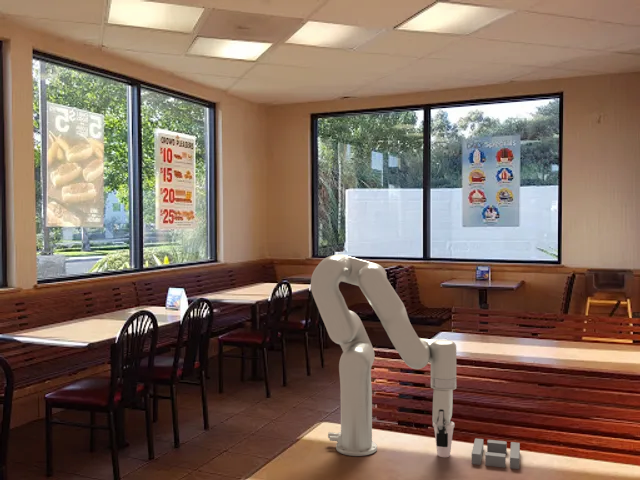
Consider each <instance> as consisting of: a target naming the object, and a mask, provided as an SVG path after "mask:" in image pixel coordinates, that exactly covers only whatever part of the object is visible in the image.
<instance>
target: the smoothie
mask: <svg viewBox="0 0 640 480" xmlns="http://www.w3.org/2000/svg"><path fill="white" fill-rule="evenodd" d="M443 422H445V423H446V421H443ZM443 426H444V427H445V425H443ZM432 427H433V430H434V436H435V437H434V439H435V446H436V453H437V456H438V457H441V458H448V457H450V456H451V451H452V443H453V433H454V428H455V422H454V421H451V420H450V422H449V423H448V424H447V433H448V447H439V446H437V436H436V433H437V421H436V422H435V423H433V422H432Z"/></svg>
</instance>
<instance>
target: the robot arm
mask: <svg viewBox="0 0 640 480" xmlns="http://www.w3.org/2000/svg"><path fill="white" fill-rule="evenodd" d="M341 282H342V283H347V284H351V285H354V286H357V287H359V289H360V290H361V292H362V294H363V295H364V296H365V298H366V300H367V302H368V303H369V305H370V306H371V307H372V309H373V310H374V313H375V314H376V316H377V317H378V320H380V323H381V326H382V327H383V328H384V330H385V333H386V334H387V336H388V338H389V340H390V341H391V343H392V345H393V347H394V349H395V350H396V352H397V353H398V355H399V356H400V357H401V359H402V360H403V362H404V363H405V365H406V366H408V367H409V368H411V369H413V370H420V369H423V368H425V367H426V366H427V365H428V363H430V388H431V389H433V395H432V421H431V422H432V424H433V423H435V422H436V421H437V433H436V436H437V446H439V447H448V433H447V424H448V423H449V422H450V421H451V419H452V416H453V405H454V403H453V400H454V399H453V396H454V395H453V393H454V392H453V391H454V390H456V389H457V344H456V343H455V342H454V341H452V340H447V339H438V340H437V339H436V340H435V339H428V338H421V337H419V336H418V334H417V332H416V331H415V329H414V327H413V325H412V324H411V322H410V318H409V316H408V313H407V309H406V307H405V304H404V302H403V301H402V300H401V298H400V296H399V295H398V293H397V292H396V290H395V289H394V287H393V286H392V285H391V283H390V281H389V279H388V276H387V271H386V270H385V268H384V266H382V265H380V264H378V263H375V262H371V261H367V260H363V259H360V258H356V257H352V256H350V255H349V256H348V255H347V254H346V255H345V254H339V253H338V254H332V255H329V256H327V257H325V258H323V259H322V260H320V261H319V263H318V265H316V267H315V269H314V270H313V272H312V275H311V278H310V290H311V293H312V297H313V299H314V302H315V304H316V307H317V309H318V312H319V314H320V317H321V319H322V321H323V323H324V326H325V328H326V332H327V334H328V336H329V338H330V340H331V341H332V342H334V343H335V344H337V345H339V346H340V348H341V349H342V350H341V351H342V353H341V356H340V359H339V362H338V363H339V364H338V372H339V383H340V384H339V385H340V387H339V388H340V431H338V433H337V432H333V431H329V432H328V433H327V434H328V435H327V438H328V439H329V441H330V442H336V444H335V449H336V451H337V452H338V453H339V454H343V455H345V456H349V457H351V456H352V457H363V456H369V455H372V454H374V453H375V452H376V451H378V445H377V443H376V442H375V441H373V397H372V396H373V393H372V392H373V391H372V389H373V387H372V367H373V365H374V362H375V355H376V353H375V351H374V349H375V348H374V347H373V345H372V342H371V340H370V338H369V336H368V333H367V331H366V329H365V326H364V324H363V322H362V320H361V318H360V317H359V315H358V314H357V313H356V312H355V311H352V310H350V309H349V308H348V305H347V303H346V300H345V298H344V296H343V294H342V292H341V291H340V287H339V285H340V283H341ZM443 421H446V423H445V422H443ZM443 425H445V427H444V426H443Z"/></svg>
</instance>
